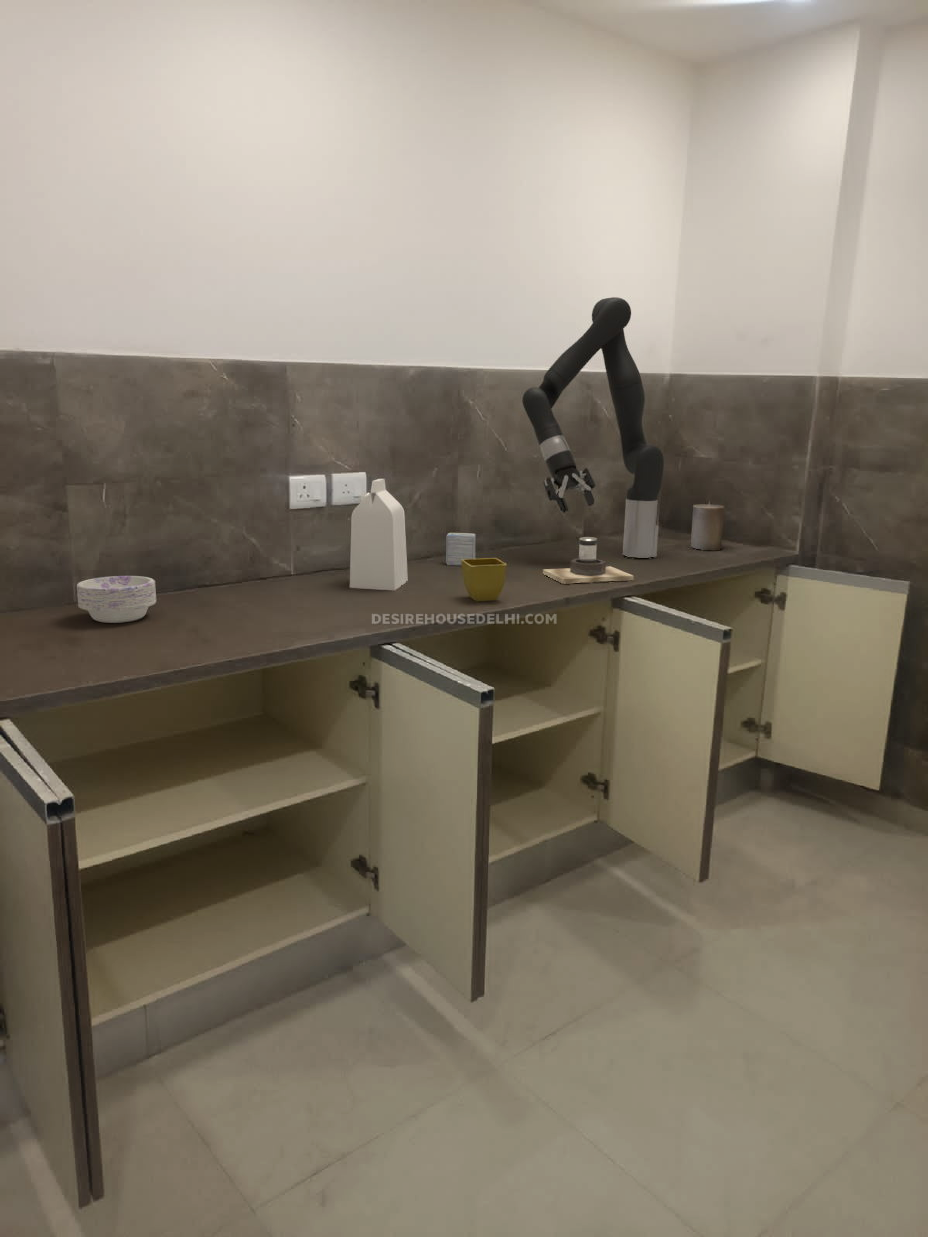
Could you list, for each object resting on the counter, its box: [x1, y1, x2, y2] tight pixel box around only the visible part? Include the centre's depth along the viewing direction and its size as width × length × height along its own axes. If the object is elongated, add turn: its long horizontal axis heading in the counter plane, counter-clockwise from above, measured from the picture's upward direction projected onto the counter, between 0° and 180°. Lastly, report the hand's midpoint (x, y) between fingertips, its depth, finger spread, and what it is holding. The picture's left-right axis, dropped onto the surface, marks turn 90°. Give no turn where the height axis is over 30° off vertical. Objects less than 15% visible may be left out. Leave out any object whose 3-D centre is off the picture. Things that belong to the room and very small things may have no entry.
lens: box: [578, 536, 598, 564], centre depth 232 cm, size 5×5×9 cm
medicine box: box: [445, 532, 477, 566], centre depth 248 cm, size 8×4×9 cm, turn 84°
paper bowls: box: [76, 575, 157, 624], centre depth 183 cm, size 15×15×8 cm
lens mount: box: [542, 558, 634, 584], centre depth 233 cm, size 20×13×4 cm, turn 108°
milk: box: [349, 478, 409, 591], centre depth 218 cm, size 12×12×26 cm
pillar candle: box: [690, 501, 725, 552], centre depth 281 cm, size 10×10×15 cm
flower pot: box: [461, 557, 508, 602], centre depth 206 cm, size 9×9×9 cm
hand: (578, 508), depth 243 cm, fingers open, 8 cm apart
